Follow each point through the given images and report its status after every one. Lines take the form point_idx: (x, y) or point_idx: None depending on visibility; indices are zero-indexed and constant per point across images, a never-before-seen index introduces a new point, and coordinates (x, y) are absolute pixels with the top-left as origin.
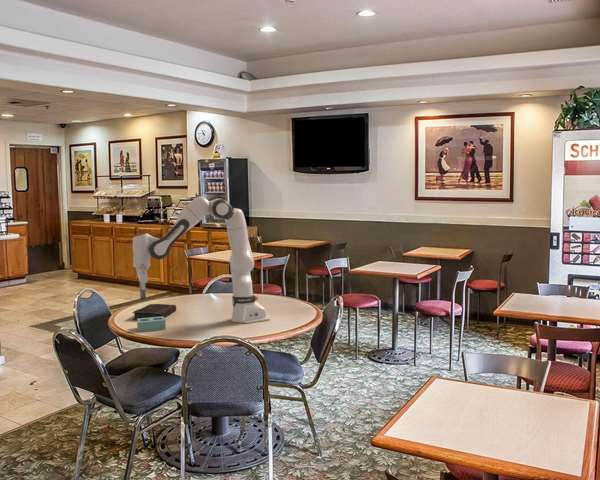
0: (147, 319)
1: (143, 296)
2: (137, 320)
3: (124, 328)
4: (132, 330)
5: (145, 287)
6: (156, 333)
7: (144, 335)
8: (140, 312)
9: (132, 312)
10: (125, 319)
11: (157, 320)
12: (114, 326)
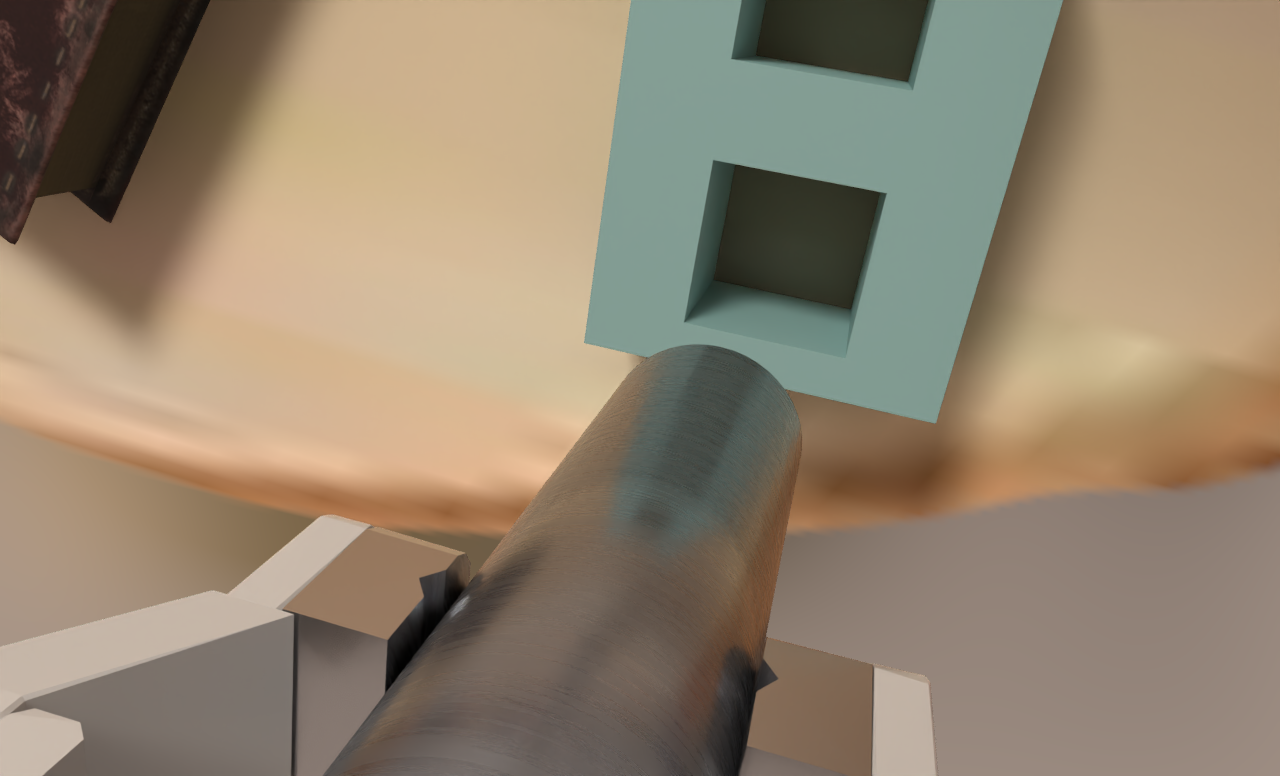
0: (713, 176)
1: (790, 501)
2: None
3: None
4: None
5: (653, 578)
6: (1268, 137)
7: (1238, 361)
8: (16, 100)
9: (9, 236)
10: (42, 292)
11: (1010, 27)
12: None
